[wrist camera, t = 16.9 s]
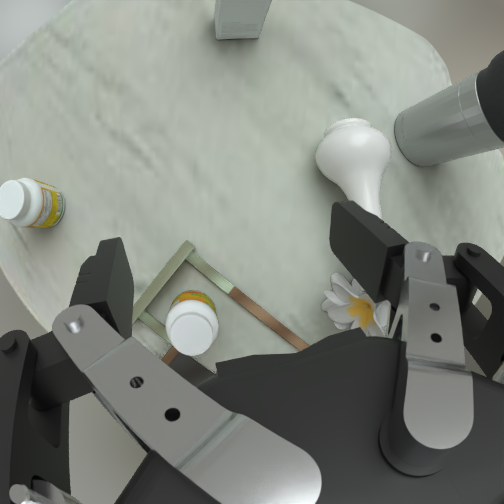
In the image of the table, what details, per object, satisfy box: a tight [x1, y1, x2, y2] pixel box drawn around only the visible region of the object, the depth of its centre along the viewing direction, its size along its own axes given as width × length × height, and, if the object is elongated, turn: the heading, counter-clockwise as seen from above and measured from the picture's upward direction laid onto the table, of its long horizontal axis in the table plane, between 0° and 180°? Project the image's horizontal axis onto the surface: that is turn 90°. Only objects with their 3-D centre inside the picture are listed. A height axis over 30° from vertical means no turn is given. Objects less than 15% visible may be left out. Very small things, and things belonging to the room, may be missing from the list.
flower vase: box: [315, 118, 392, 337], centre depth 34 cm, size 13×18×25 cm
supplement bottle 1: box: [0, 178, 65, 228], centre depth 29 cm, size 5×5×10 cm
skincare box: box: [214, 0, 272, 40], centre depth 30 cm, size 6×4×12 cm
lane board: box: [132, 240, 309, 387], centre depth 37 cm, size 25×18×3 cm
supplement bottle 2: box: [166, 290, 219, 356], centre depth 33 cm, size 5×5×10 cm
